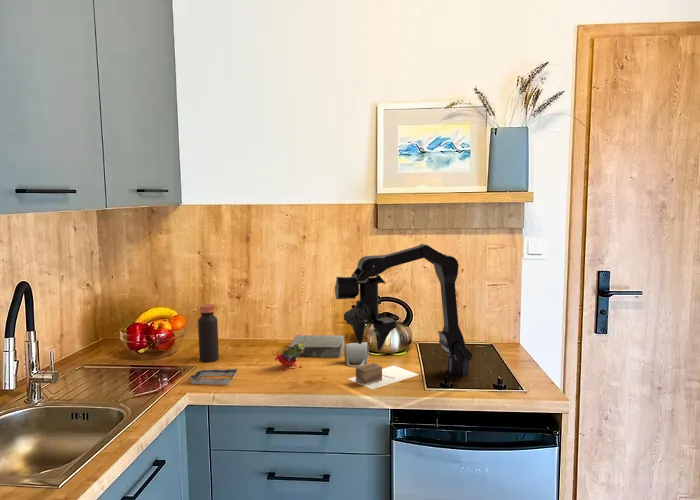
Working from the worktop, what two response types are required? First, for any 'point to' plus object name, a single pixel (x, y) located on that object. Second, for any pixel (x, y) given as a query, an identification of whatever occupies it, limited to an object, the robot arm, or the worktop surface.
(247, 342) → the worktop surface
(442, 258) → the robot arm
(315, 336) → the stone block
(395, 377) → the board
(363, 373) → the sanding block
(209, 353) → the bottle
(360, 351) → the ceramic mug
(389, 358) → the worktop surface
